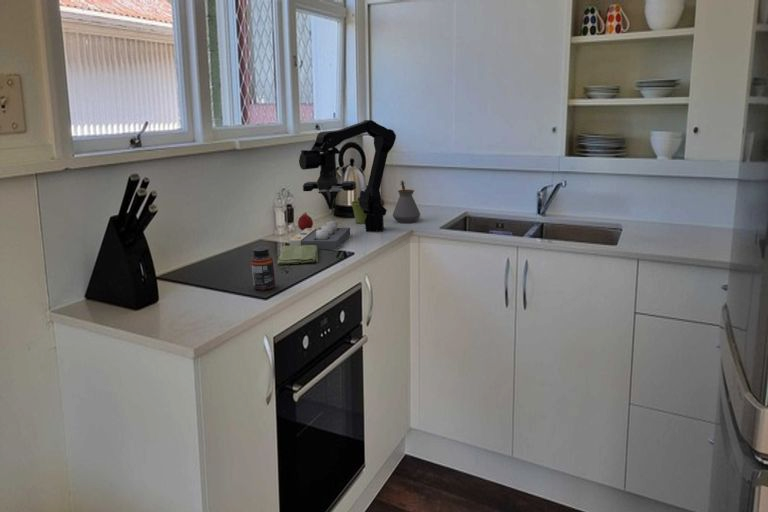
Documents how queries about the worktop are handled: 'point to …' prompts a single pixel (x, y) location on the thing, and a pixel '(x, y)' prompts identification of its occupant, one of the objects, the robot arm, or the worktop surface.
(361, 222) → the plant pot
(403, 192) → the coffee pot
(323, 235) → the button
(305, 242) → the board
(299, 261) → the washcloth
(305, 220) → the onion
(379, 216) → the robot arm
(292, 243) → the tile
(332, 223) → the button
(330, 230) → the button
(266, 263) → the supplement bottle
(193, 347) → the worktop surface
